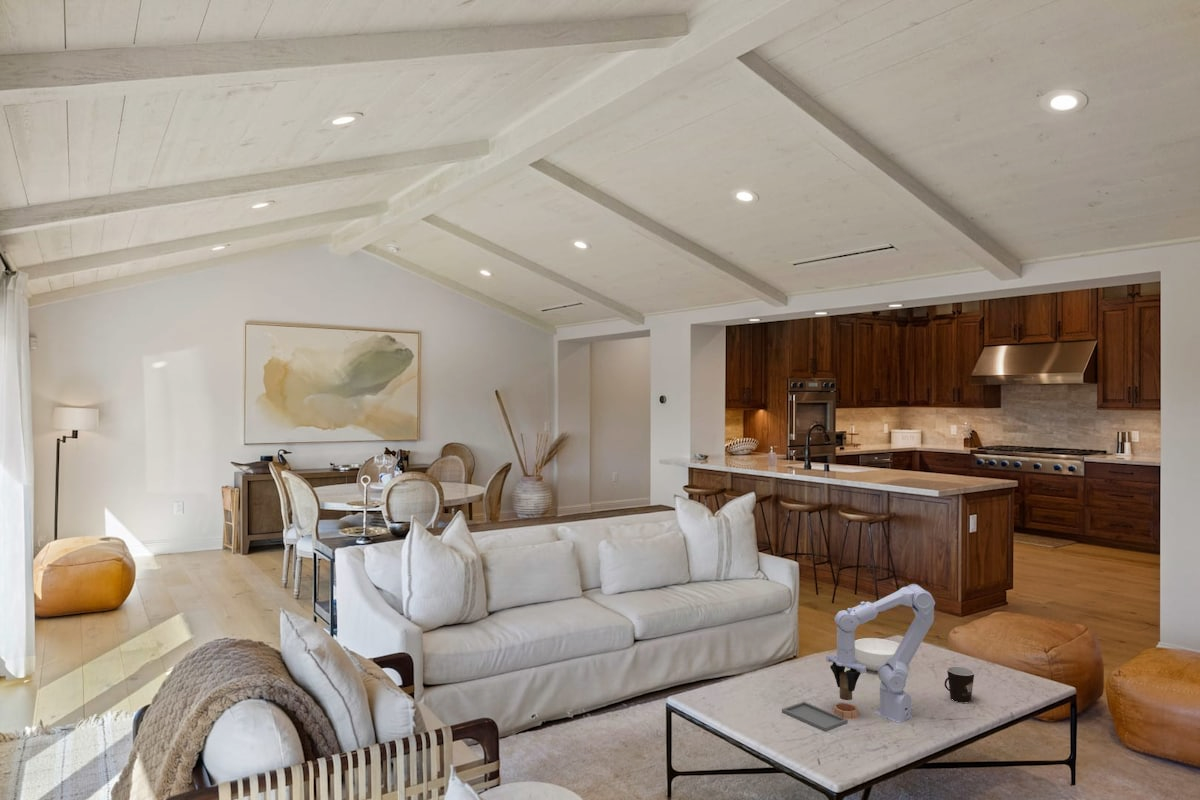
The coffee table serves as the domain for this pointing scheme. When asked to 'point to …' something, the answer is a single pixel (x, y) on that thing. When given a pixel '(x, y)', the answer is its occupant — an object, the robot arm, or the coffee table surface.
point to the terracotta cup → (846, 710)
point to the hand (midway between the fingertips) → (845, 688)
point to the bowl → (874, 652)
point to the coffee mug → (960, 683)
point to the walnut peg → (844, 687)
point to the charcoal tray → (814, 716)
